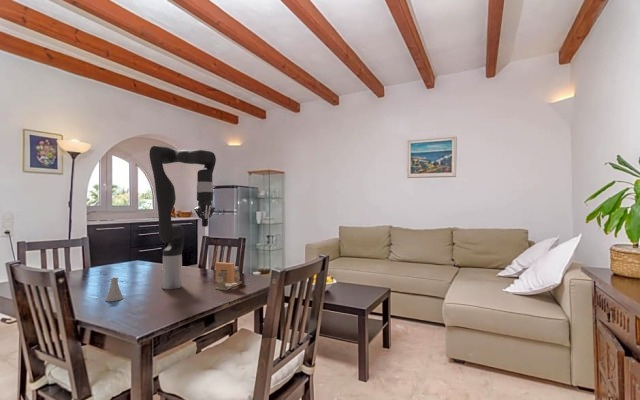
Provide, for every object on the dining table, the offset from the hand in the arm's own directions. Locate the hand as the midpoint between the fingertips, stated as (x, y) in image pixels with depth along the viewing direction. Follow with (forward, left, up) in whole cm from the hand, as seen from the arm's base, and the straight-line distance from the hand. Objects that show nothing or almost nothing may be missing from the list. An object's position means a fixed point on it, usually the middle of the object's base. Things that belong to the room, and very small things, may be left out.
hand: (205, 226), depth 162 cm
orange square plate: (+2, +13, -30) cm, 33 cm away
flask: (-34, -22, -33) cm, 52 cm away
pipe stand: (+2, +16, -33) cm, 37 cm away
